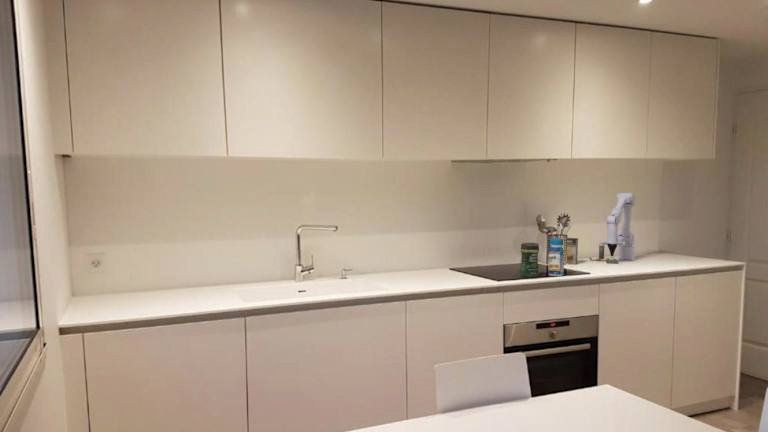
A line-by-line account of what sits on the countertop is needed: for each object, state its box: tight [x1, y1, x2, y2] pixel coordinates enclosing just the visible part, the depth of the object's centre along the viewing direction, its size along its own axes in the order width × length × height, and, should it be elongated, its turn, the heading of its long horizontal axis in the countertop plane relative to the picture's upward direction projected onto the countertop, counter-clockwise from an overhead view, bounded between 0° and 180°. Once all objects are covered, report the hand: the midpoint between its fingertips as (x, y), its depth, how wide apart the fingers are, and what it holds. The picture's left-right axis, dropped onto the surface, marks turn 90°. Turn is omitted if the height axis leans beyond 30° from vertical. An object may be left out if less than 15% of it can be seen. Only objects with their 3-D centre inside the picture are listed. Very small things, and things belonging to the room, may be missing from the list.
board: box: [588, 256, 609, 262], centre depth 343 cm, size 12×10×1 cm
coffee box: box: [566, 237, 579, 265], centre depth 330 cm, size 9×6×16 cm
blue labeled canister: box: [547, 238, 565, 277], centre depth 289 cm, size 8×8×20 cm
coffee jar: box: [519, 242, 540, 278], centre depth 286 cm, size 10×8×19 cm
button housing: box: [605, 258, 619, 265], centre depth 331 cm, size 6×6×2 cm
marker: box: [598, 243, 606, 259], centre depth 343 cm, size 3×3×10 cm
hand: (611, 256), depth 331 cm, fingers closed
